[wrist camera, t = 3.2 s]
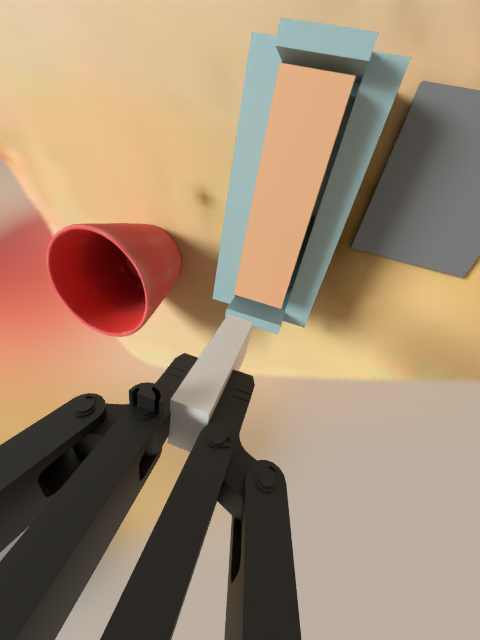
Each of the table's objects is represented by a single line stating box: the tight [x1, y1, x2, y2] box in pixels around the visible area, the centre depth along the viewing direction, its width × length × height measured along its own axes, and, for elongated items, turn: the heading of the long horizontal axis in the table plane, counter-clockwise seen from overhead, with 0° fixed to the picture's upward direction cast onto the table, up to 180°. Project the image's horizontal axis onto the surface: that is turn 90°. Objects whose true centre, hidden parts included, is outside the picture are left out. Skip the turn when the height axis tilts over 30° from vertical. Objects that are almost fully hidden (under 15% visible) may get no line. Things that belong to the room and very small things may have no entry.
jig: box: [212, 18, 411, 334], centre depth 21 cm, size 18×9×9 cm, turn 169°
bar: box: [234, 63, 356, 309], centre depth 19 cm, size 14×4×4 cm, turn 169°
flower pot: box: [46, 223, 182, 337], centre depth 28 cm, size 11×11×10 cm
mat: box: [351, 81, 480, 278], centre depth 21 cm, size 12×10×1 cm
